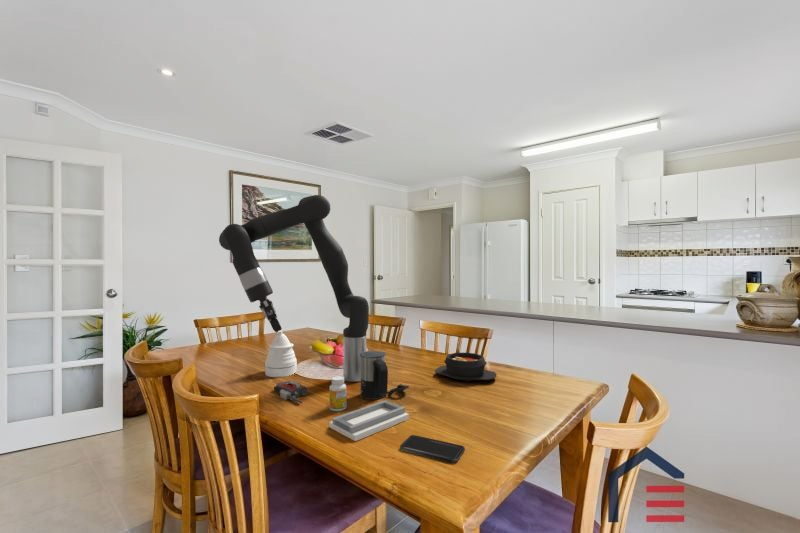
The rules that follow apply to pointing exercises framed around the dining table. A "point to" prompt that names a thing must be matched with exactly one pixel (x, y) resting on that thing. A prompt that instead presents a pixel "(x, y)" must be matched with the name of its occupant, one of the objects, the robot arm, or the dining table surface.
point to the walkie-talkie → (291, 390)
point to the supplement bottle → (338, 394)
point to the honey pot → (280, 357)
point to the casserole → (465, 367)
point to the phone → (433, 448)
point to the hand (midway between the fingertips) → (277, 330)
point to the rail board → (369, 420)
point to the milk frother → (375, 376)
